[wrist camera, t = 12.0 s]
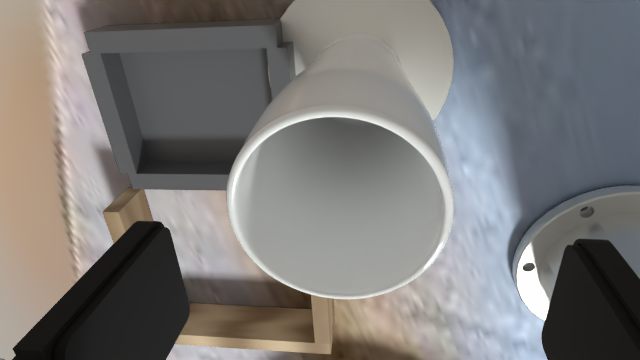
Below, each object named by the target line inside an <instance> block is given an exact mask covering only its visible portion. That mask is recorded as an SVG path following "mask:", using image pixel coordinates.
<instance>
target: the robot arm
mask: <svg viewBox="0 0 640 360" xmlns="http://www.w3.org/2000/svg"><path fill="white" fill-rule="evenodd" d="M512 275H513V279H514V283H515V286H516V289H517V291H518V293H519V295H520V298H521V300H522V301H523V302H524V304H525V305H526V306H527V308H528V309H529V310H530V311H532V312H533V313H534V314H535V315H536V316H538V317H539V318H541V319H542V320H544V321H545V323H544V326H543V330H542V345H543V348H544V351H545V354H546V356H547V359H548V360H640V186H615V187H608V188H601V189H598V190H594V191H591V192H587V193H584V194H581V195H578V196H576V197H574V198H572V199H569V200H567V201H565V202H563V203H561V204H559V205H558V206H556V207H555V208H553V209H551V210H550V211H548V212H547V213H545V214H544V215H543V216H542V217H541V218H540V219H538V220H537V221H536V222H535V223H534V224H533V225H532V226H531V227H530V229H529V230H528V231H527V232H526V233H525V235H524V236H523V238H522V239H521V241H520V243H519V245H518V247H517V249H516V252H515V255H514V259H513V268H512ZM189 313H190V306H189V302H188V298H187V294H186V290H185V286H184V283H183V279H182V275H181V271H180V267H179V264H178V260H177V256H176V252H175V248H174V244H173V241H172V237H171V233H170V230H169V229H168V228H166V227H164V225H163V224H162V223H161V222H158V221H136V222H135V223H133V224H132V226H131V227H130V228H129V229H128V230H127V231H126V232H125V233H124V234H123V235H122V236H121V237H120V238H119V239H118V240H117V241H116V242H115V243H114V244H113V245H112V246H111V247H110V248H109V249H108V250H107V251H106V252H105V253H104V255H103V256H102V257H101V258H100V259H99V260H98V261H97V262H96V263H95V264H94V265H93V266H92V267H91V268H90V269H89V270H88V271H87V272H86V273H85V274H84V275H83V276H82V277H81V278H80V279H79V280H78V281H77V282H76V283H75V285H74V286H73V287H72V288H71V289H70V290H69V291H68V292H67V293H66V294H65V295H64V296H63V297H62V298H61V299H60V300H59V301H58V302H57V303H56V304H55V305H54V306H53V307H52V308H51V310H50V311H49V312H48V313H47V314H46V315H45V316H44V317H43V318H42V319H41V320H40V321H39V322H38V323H37V324H36V325H35V326H34V327H33V328H32V329H31V330H30V331H29V332H28V333H27V334H26V336H24V337H23V338H22V339H21V341H19V343H18V344H17V345H16V346H15V347H14V348H13V350H14V352H15V354H16V356H15V357H14V358H13V359H12V360H166V358H167V356H168V355H169V353H170V351H171V349H172V347H173V346H174V344H175V342H176V340H177V338H178V337H179V335H180V333H181V331H182V329H183V328H184V326H185V324H186V322H187V320H188V318H189ZM0 360H5V359H1V358H0Z"/></svg>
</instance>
